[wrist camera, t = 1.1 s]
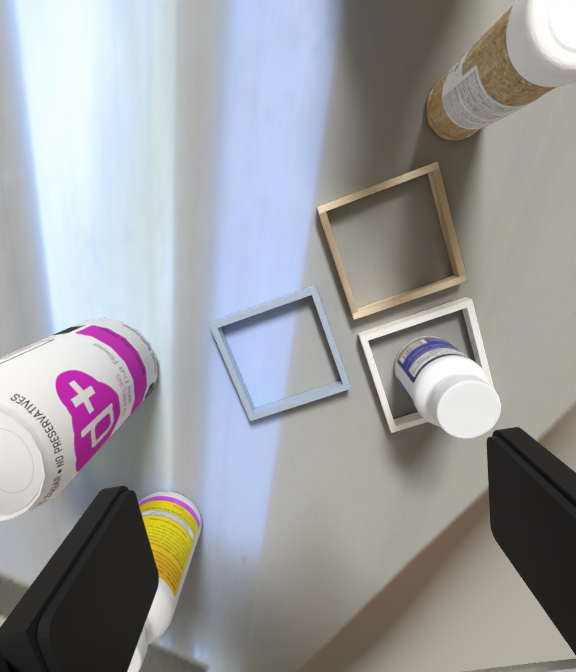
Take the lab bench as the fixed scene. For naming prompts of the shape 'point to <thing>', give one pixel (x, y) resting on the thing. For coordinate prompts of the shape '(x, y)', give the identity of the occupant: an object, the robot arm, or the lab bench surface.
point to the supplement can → (66, 406)
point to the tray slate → (293, 400)
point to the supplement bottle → (166, 559)
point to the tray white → (411, 320)
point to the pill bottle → (447, 387)
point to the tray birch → (447, 231)
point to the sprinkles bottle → (506, 68)
